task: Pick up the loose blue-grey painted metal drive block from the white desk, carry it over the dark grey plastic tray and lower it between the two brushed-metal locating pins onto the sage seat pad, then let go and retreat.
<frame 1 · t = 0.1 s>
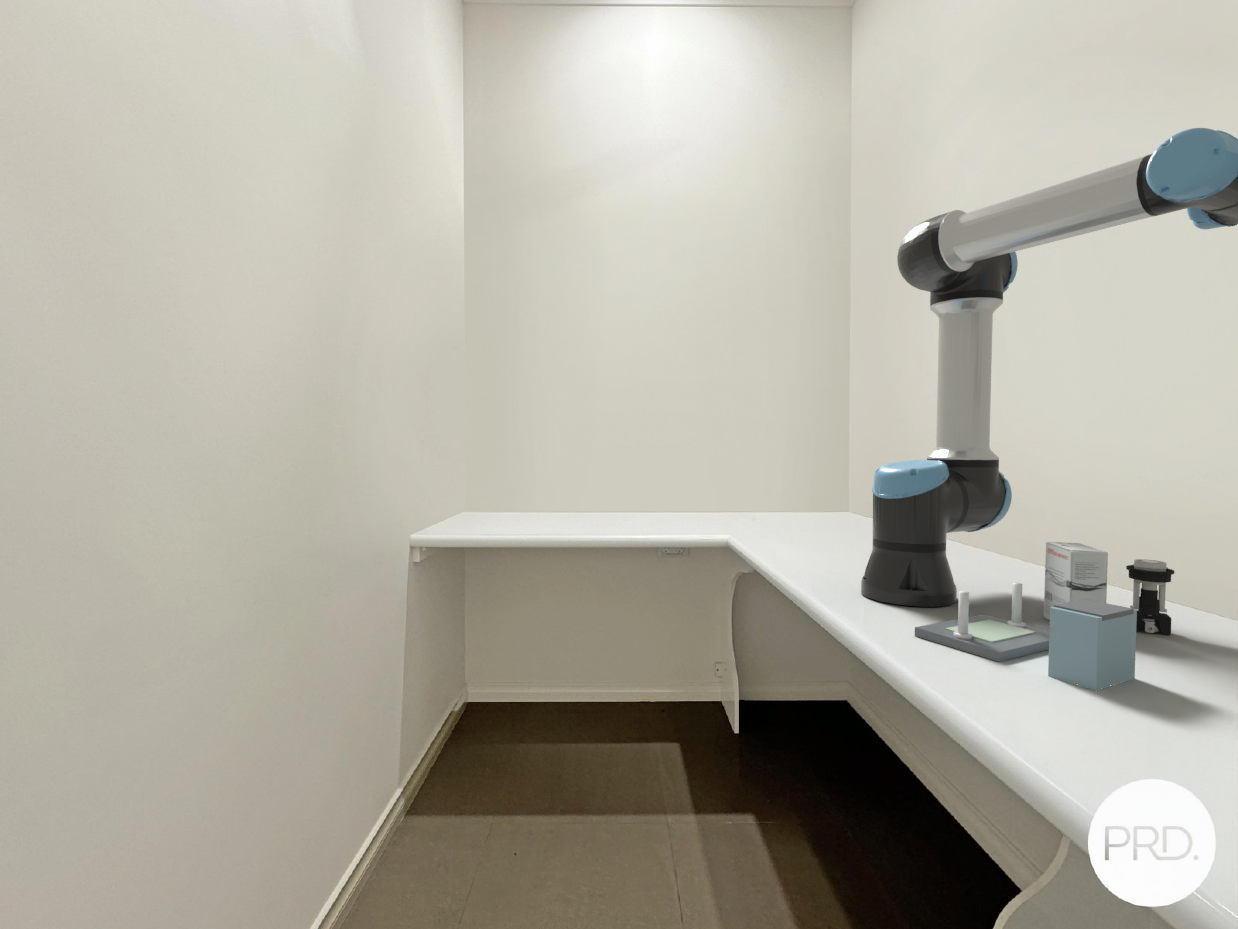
push button: (1141, 631, 94), on the table
drive block: (1091, 677, 76), on the table
ink box: (1073, 626, 97), on the table
pin tray: (990, 640, 89), on the table
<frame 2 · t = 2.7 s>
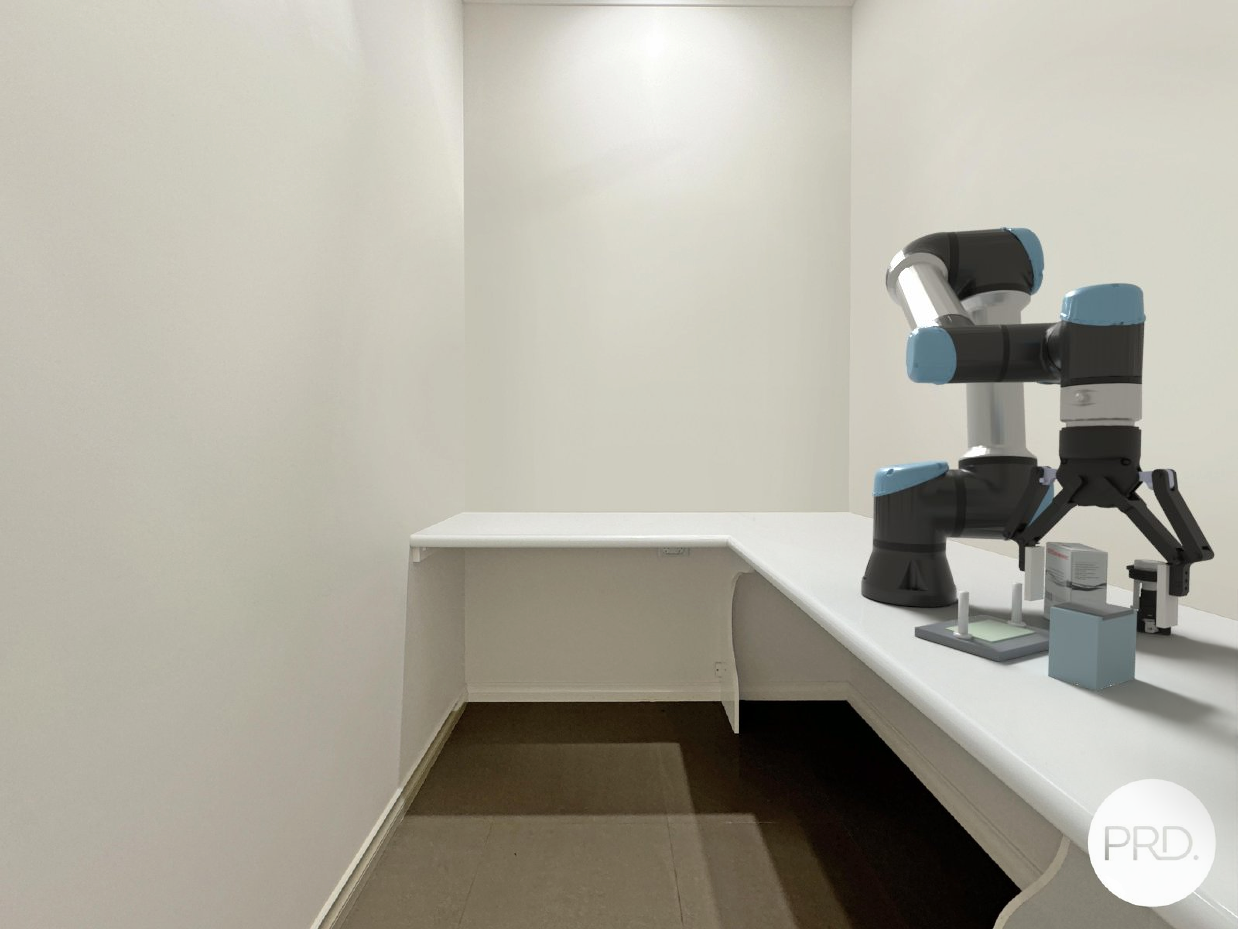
hand: (1095, 612, 75), 8 cm above the table, fingers open, 13 cm apart
nothing on the table moved.
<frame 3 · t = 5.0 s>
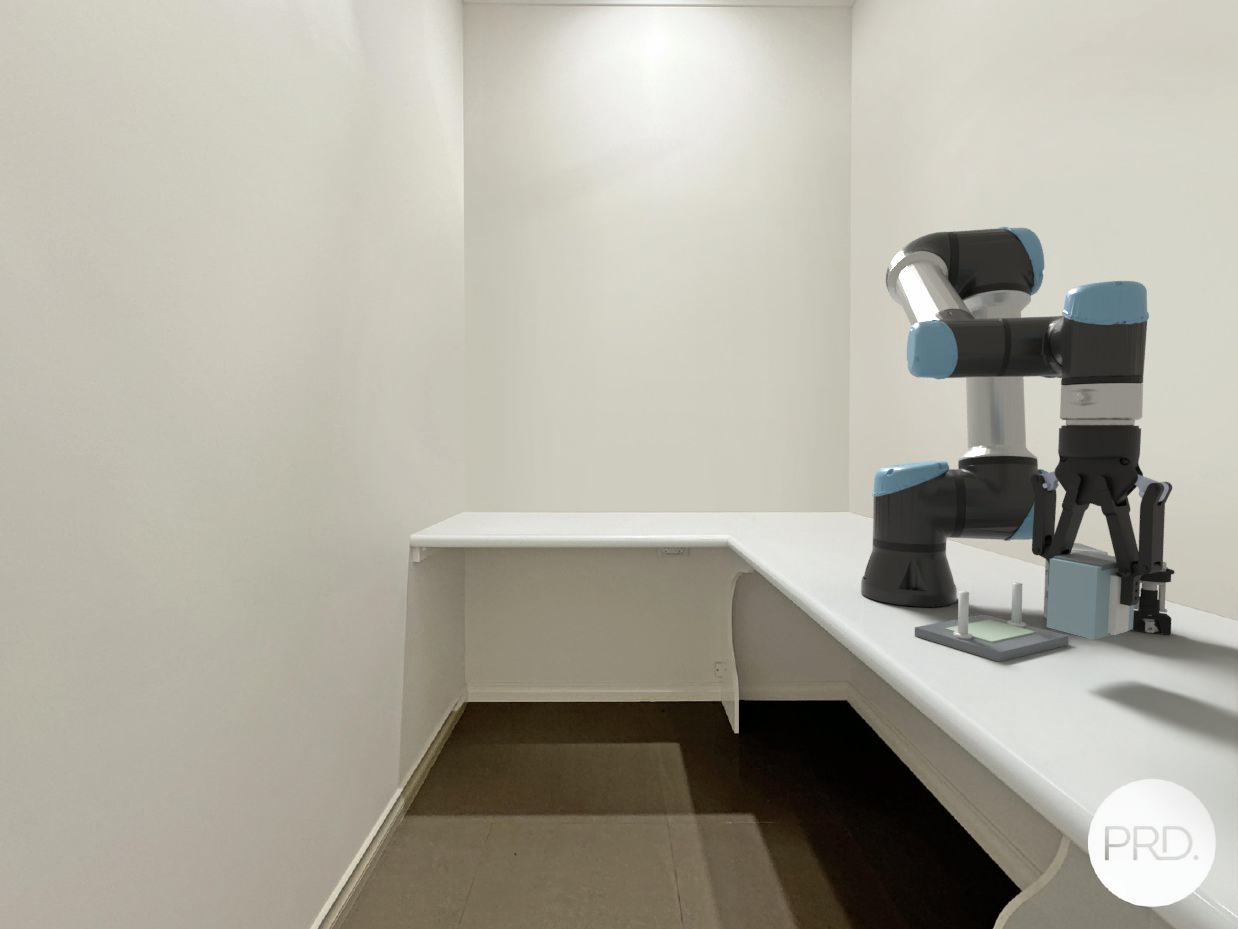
hand: (1089, 624, 76), 6 cm above the table, fingers closed on drive block, 5 cm apart
drive block: (1089, 628, 76), point 5 cm above the table, touching gripper
everything else where it was.
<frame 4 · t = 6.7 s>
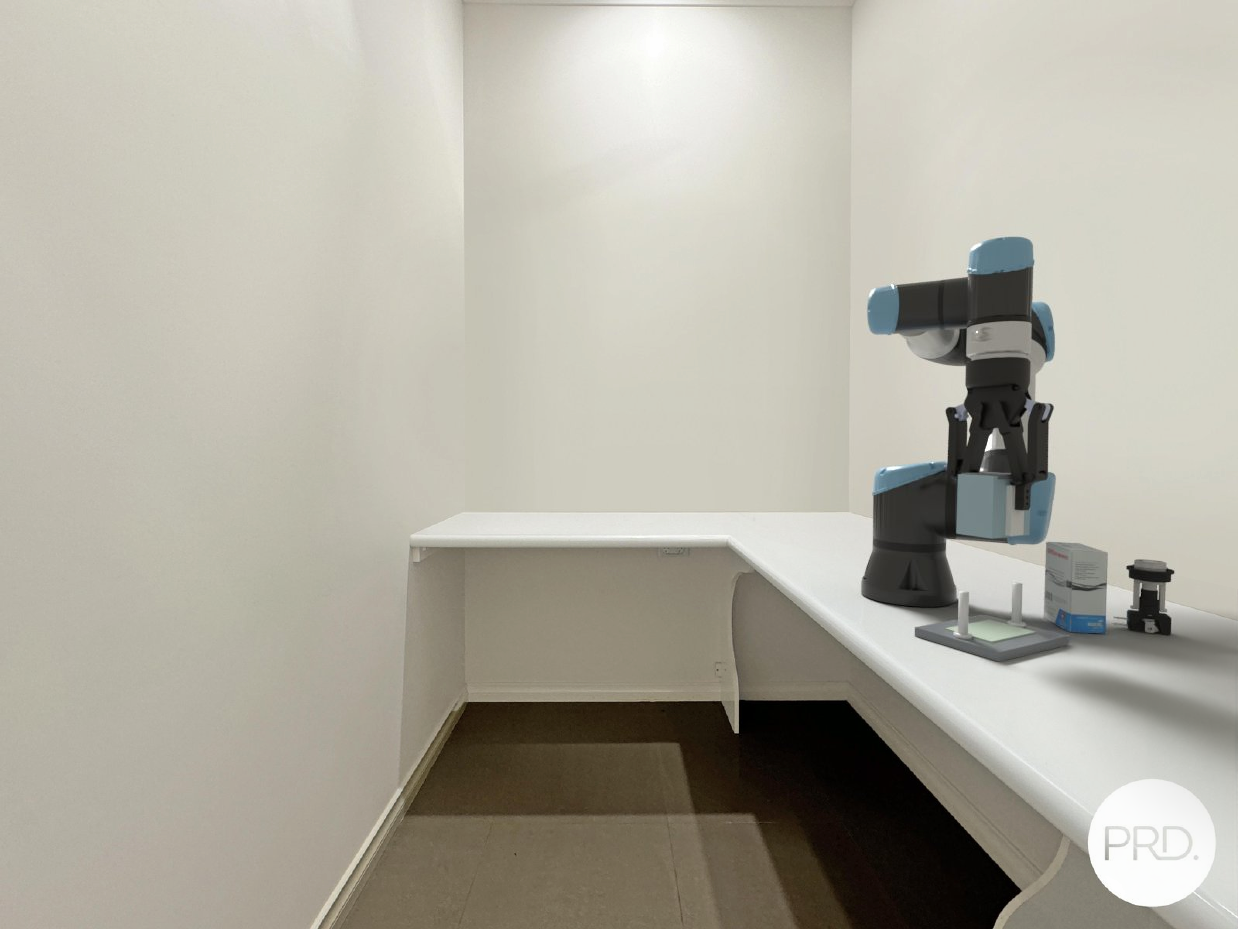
hand: (993, 531, 89), 15 cm above the table, fingers closed on drive block, 5 cm apart
drive block: (992, 534, 89), point 14 cm above the table, touching gripper
everything else where it was.
when the fingers open (2 cm above the table, at t = 8.7 s): drive block stays where it is, resting on pin tray.
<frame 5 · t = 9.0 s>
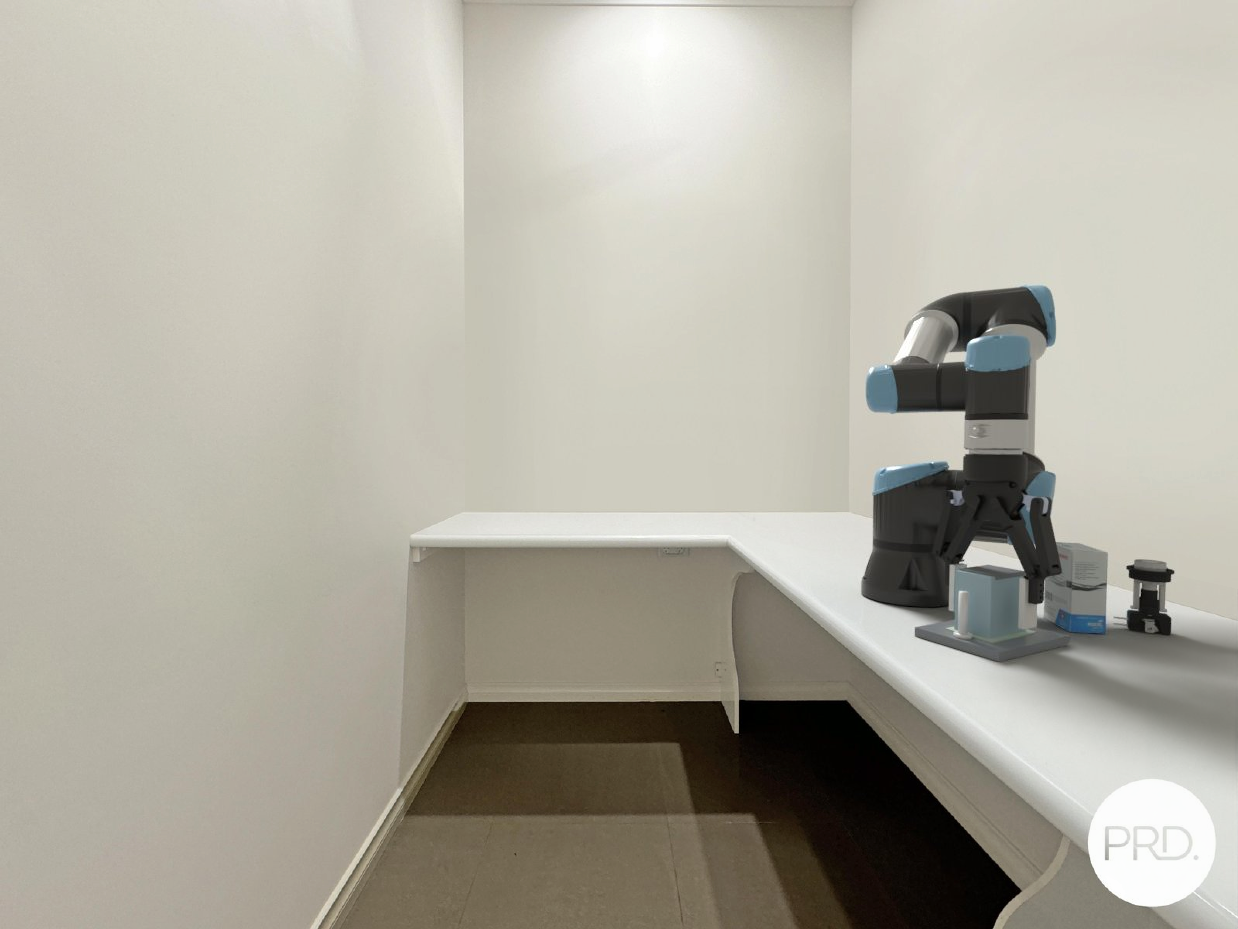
hand: (990, 618, 89), 3 cm above the table, fingers open, 9 cm apart
drive block: (990, 630, 89), point 1 cm above the table, touching pin tray
everything else where it was.
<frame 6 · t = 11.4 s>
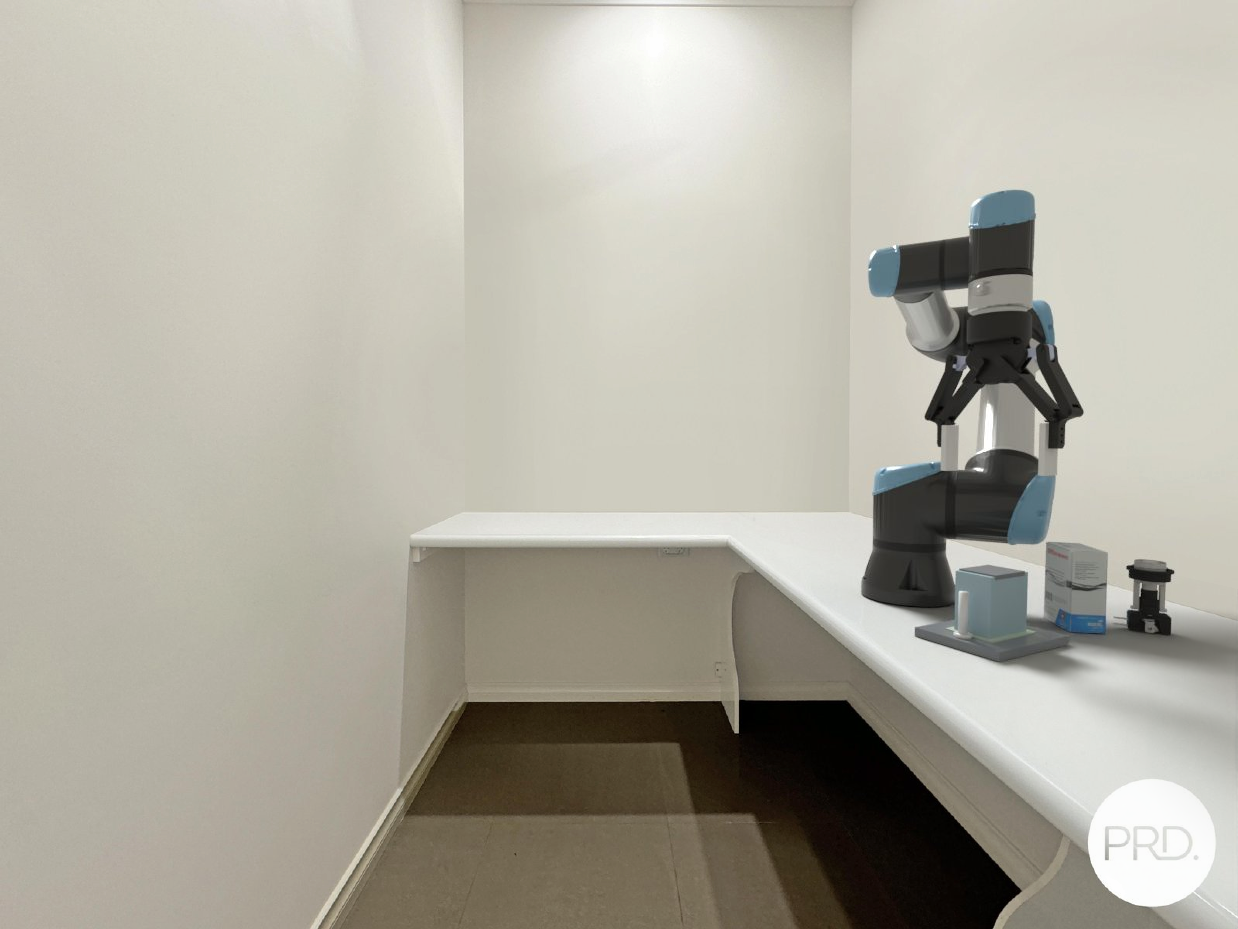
hand: (994, 473, 88), 23 cm above the table, fingers open, 13 cm apart
nothing on the table moved.
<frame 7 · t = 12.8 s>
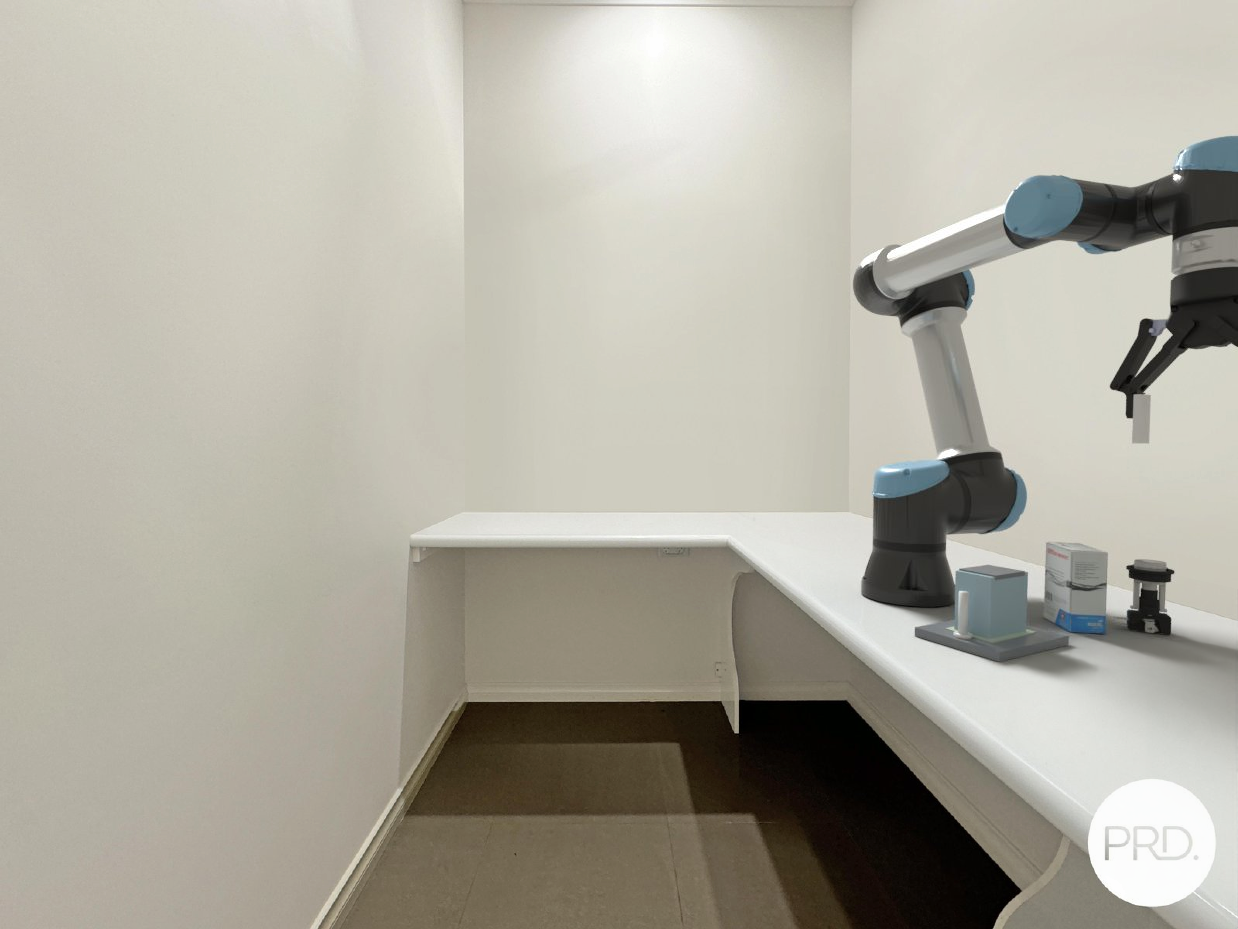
hand: (1204, 444, 82), 27 cm above the table, fingers open, 13 cm apart
nothing on the table moved.
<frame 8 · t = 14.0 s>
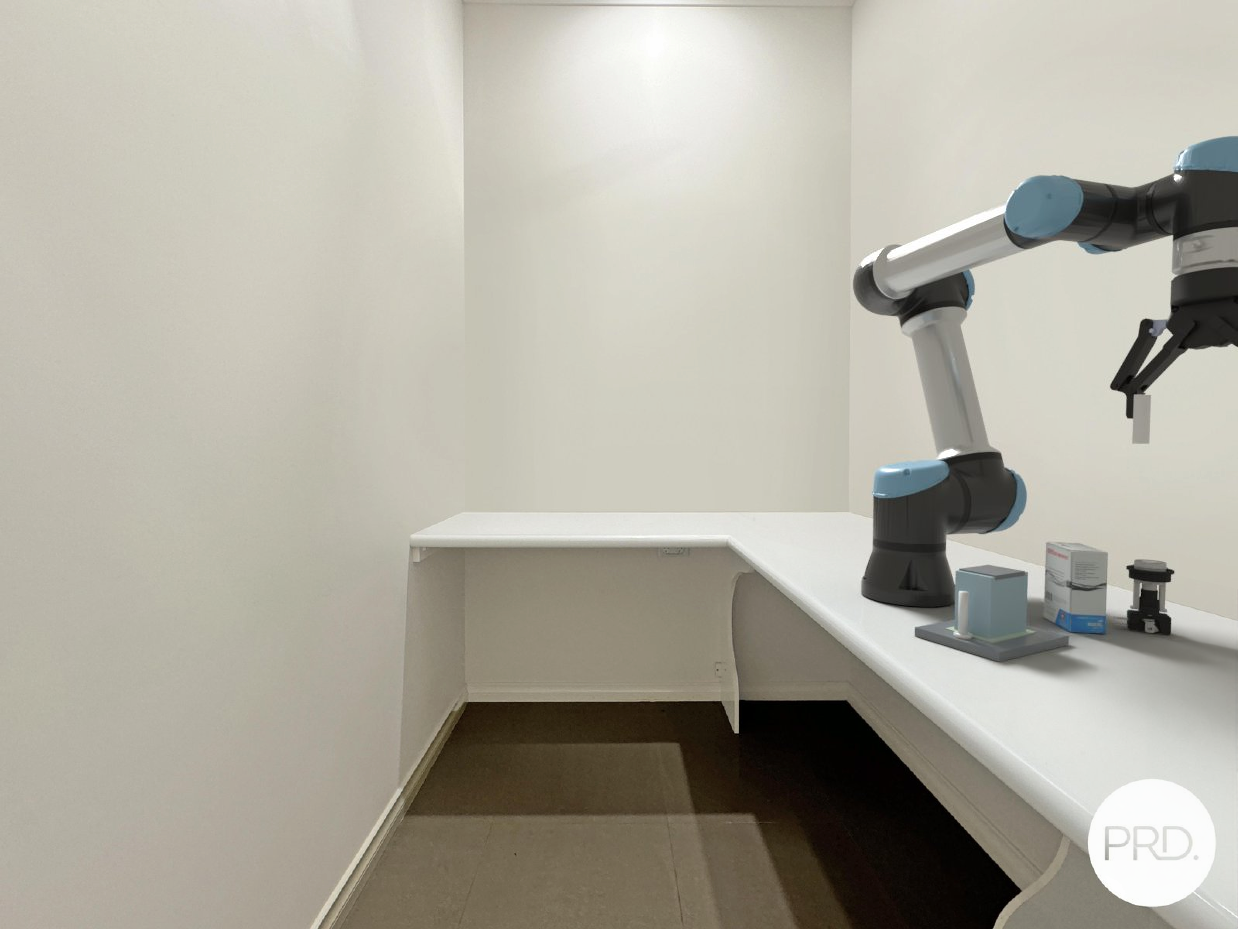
hand: (1204, 444, 82), 27 cm above the table, fingers open, 13 cm apart
nothing on the table moved.
at the end: drive block 0.0 cm off-centre on the pin tray, point 1.4 cm above the pin tray's base; drive block tilted 0°; the gripper is holding nothing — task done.
